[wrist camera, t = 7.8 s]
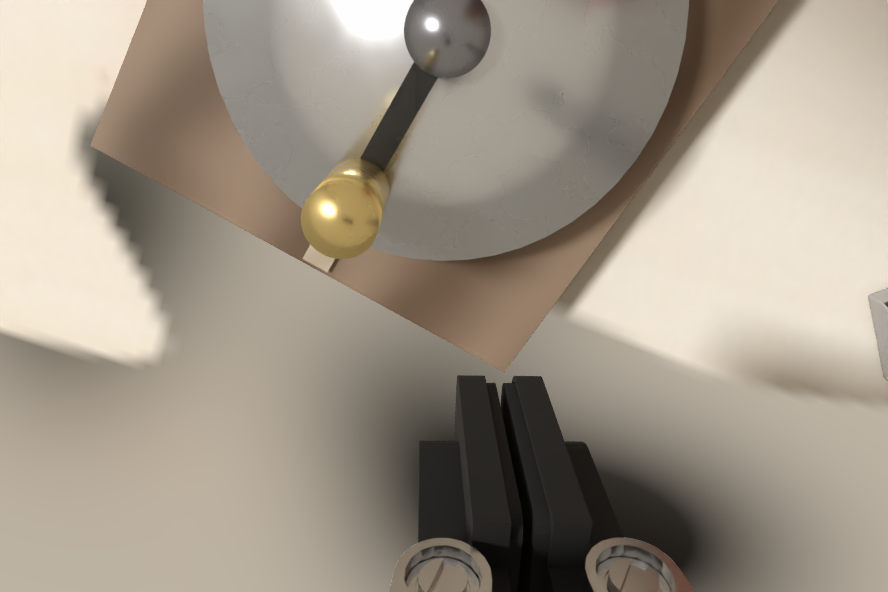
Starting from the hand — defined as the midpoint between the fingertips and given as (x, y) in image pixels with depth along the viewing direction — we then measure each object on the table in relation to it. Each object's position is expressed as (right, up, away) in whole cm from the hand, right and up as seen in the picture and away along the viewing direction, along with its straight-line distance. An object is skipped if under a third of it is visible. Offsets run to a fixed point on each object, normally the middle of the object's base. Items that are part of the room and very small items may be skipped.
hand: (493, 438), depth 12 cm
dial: (-1, +13, +11) cm, 17 cm away
